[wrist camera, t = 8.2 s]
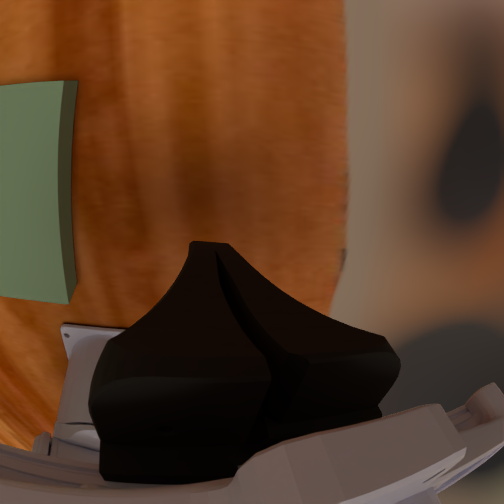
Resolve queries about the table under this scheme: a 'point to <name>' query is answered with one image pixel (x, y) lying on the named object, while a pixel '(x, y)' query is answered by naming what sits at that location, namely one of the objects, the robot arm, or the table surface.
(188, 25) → the table surface
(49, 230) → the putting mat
